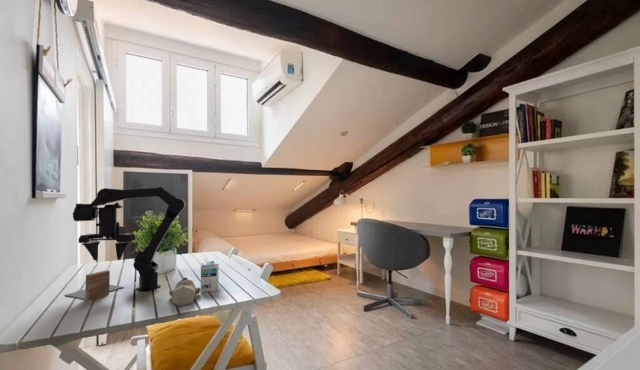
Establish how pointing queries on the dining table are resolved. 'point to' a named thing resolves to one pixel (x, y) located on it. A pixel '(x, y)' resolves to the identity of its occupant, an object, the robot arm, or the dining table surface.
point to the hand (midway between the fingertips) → (107, 260)
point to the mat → (82, 293)
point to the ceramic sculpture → (184, 292)
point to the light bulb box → (209, 275)
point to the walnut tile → (97, 285)
